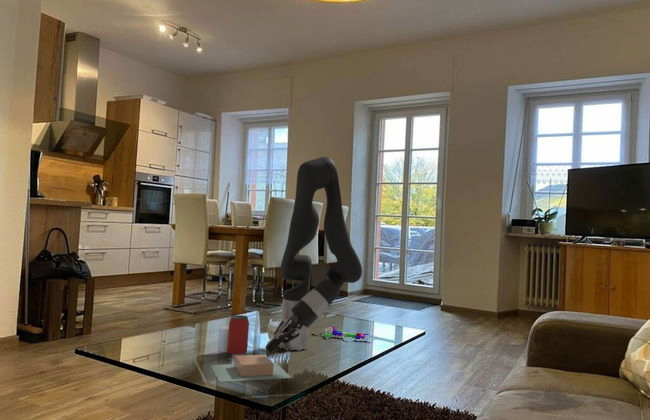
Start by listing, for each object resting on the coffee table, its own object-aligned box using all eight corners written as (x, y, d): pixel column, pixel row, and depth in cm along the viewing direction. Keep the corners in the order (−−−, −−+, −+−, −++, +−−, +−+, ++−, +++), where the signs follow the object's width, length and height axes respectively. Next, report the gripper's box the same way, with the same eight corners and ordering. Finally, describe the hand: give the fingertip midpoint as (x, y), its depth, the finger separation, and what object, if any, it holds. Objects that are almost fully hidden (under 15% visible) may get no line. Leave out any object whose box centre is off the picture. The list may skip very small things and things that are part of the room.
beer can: (229, 356, 152) (232, 318, 152) (224, 351, 158) (227, 315, 158) (249, 355, 155) (252, 318, 155) (243, 350, 161) (245, 314, 161)
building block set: (381, 337, 200) (381, 326, 200) (368, 346, 181) (369, 334, 181) (326, 329, 209) (326, 319, 209) (308, 338, 190) (309, 326, 190)
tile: (264, 354, 141) (234, 355, 138) (273, 363, 132) (241, 364, 129) (263, 365, 141) (233, 366, 138) (272, 375, 132) (241, 377, 128)
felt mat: (275, 364, 146) (275, 362, 146) (291, 380, 131) (291, 377, 131) (209, 367, 138) (210, 365, 138) (219, 383, 123) (219, 381, 123)
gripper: (295, 295, 147) (254, 336, 142) (310, 302, 135) (265, 346, 130) (310, 313, 149) (269, 353, 144) (325, 320, 137) (282, 365, 131)
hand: (267, 350), depth 137 cm, fingers closed
